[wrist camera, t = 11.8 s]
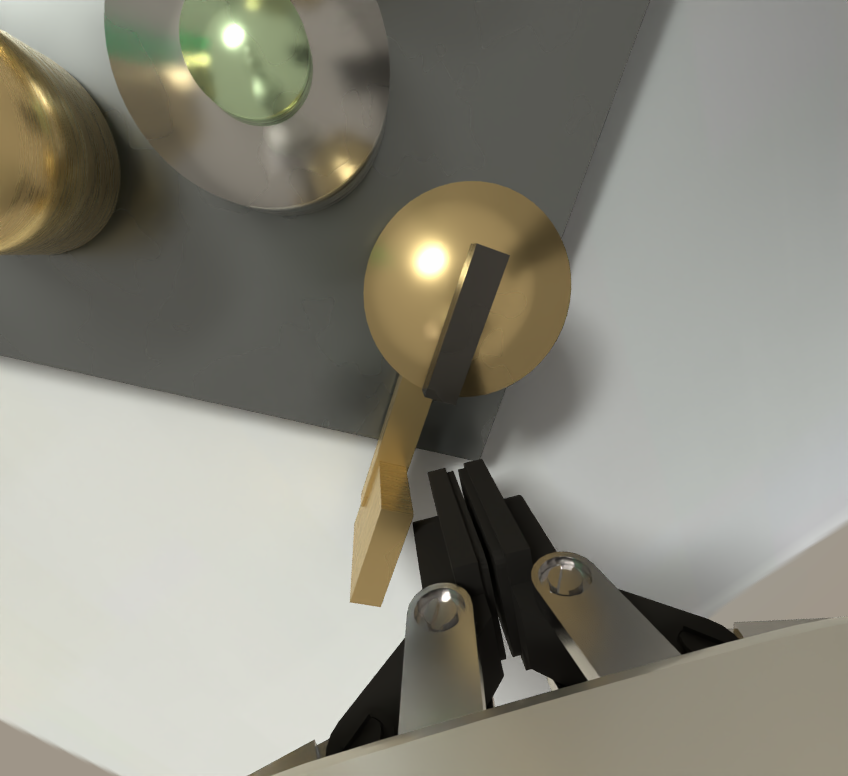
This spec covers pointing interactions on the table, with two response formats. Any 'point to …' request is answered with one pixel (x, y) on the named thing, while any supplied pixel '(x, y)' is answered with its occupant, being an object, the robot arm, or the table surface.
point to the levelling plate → (312, 271)
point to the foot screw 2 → (450, 333)
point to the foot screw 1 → (51, 156)
